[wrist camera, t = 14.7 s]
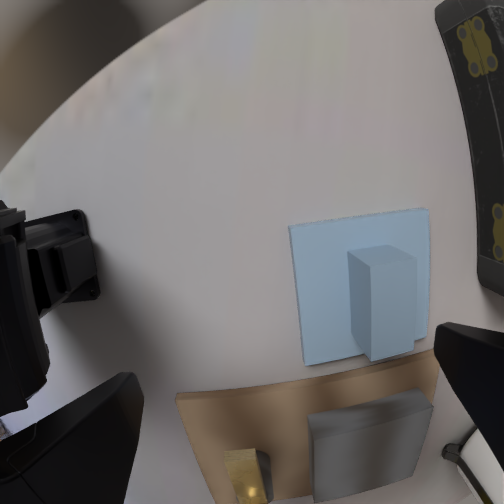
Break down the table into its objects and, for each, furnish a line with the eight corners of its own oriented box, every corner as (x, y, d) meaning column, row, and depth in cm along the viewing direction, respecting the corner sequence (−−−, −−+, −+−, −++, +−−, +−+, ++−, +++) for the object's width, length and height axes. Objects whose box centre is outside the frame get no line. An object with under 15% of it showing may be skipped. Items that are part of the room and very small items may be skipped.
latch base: (216, 497, 26) (214, 536, 21) (177, 393, 23) (164, 440, 18) (410, 461, 27) (427, 493, 21) (436, 347, 23) (469, 379, 18)
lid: (301, 355, 23) (316, 399, 18) (286, 224, 21) (302, 239, 16) (417, 329, 23) (452, 360, 18) (417, 207, 21) (462, 215, 16)
